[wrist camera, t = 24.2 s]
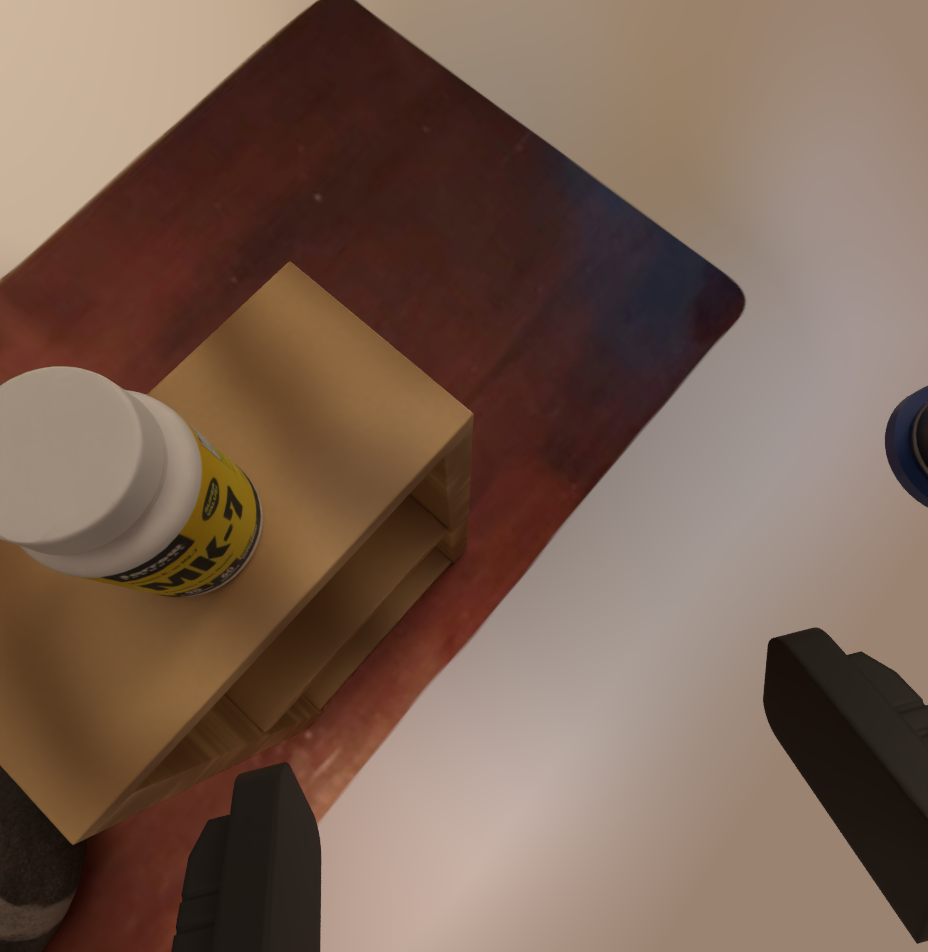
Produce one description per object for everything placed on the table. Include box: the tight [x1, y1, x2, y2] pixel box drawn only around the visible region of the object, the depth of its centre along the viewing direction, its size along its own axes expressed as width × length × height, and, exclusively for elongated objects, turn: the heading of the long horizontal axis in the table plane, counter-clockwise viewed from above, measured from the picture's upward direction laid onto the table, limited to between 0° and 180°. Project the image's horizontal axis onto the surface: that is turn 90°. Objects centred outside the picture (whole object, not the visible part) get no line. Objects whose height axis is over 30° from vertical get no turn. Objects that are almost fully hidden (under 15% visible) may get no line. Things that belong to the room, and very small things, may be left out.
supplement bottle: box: [0, 367, 263, 597], centre depth 18 cm, size 5×5×8 cm
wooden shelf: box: [0, 262, 473, 845], centre depth 38 cm, size 18×9×32 cm, turn 139°
